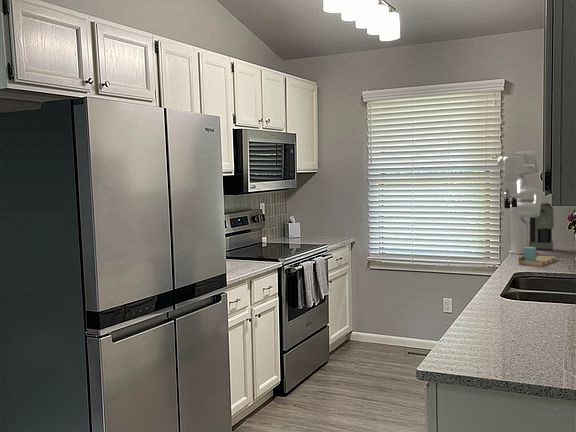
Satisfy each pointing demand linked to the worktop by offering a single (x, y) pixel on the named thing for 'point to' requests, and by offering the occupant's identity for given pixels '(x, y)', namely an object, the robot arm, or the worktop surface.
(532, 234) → the device
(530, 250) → the teal upright block
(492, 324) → the worktop surface
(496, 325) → the worktop surface
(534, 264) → the board
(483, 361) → the worktop surface
